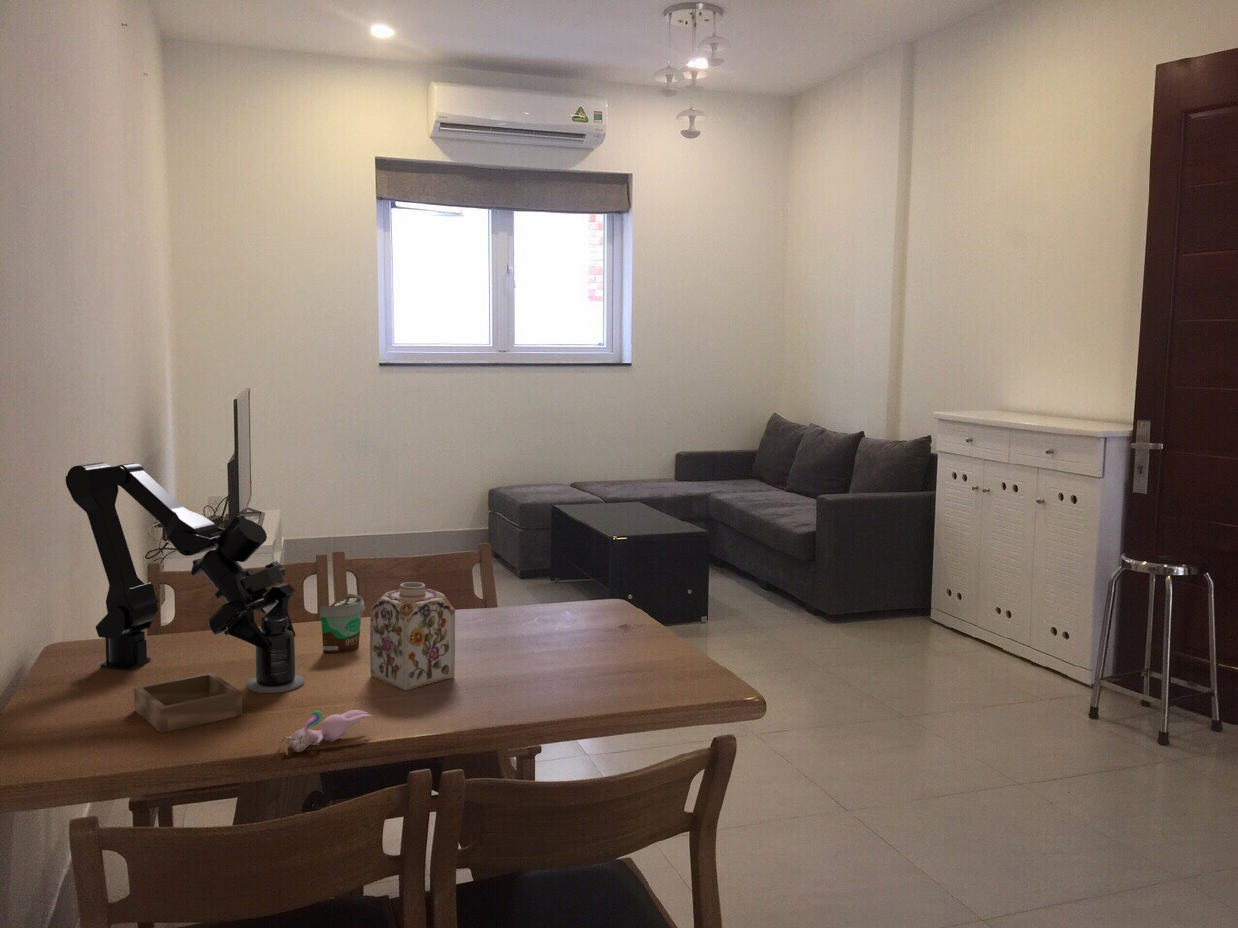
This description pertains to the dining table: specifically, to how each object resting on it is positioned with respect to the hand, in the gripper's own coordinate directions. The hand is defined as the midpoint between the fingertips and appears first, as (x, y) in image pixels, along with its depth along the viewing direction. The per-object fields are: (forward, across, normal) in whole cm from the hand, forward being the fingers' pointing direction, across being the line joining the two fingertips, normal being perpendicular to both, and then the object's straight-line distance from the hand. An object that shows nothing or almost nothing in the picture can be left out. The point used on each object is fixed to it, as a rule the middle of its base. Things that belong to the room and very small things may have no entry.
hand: (281, 643), depth 183 cm
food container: (+5, +24, +6) cm, 25 cm away
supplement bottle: (+4, 0, +6) cm, 8 cm away
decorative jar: (+20, +12, -8) cm, 25 cm away
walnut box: (+1, -17, +10) cm, 20 cm away
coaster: (+5, 0, +6) cm, 8 cm away
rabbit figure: (+21, -20, -10) cm, 31 cm away
